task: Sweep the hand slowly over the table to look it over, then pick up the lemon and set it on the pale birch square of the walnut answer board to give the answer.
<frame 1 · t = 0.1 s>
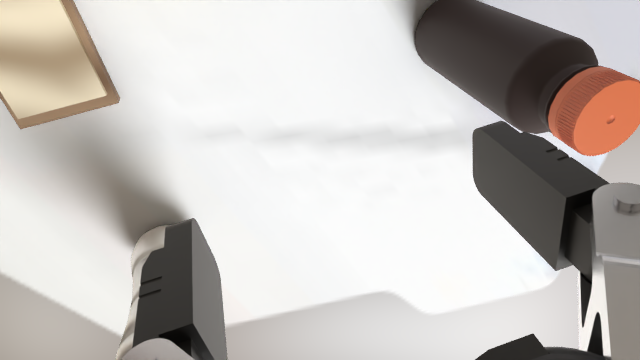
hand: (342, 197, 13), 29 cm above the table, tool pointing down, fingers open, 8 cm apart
plastic bottle: (167, 240, 47), on the table
vinegar: (445, 31, 42), on the table
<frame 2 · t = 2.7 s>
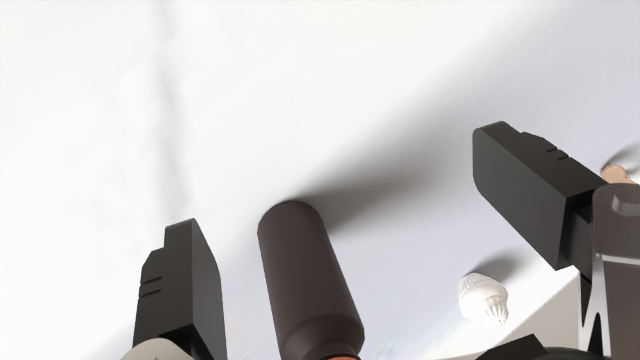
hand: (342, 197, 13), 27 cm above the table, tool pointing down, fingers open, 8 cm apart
muffin: (468, 280, 59), on the table
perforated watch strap: (606, 171, 54), on the table
vinegar: (288, 225, 47), on the table
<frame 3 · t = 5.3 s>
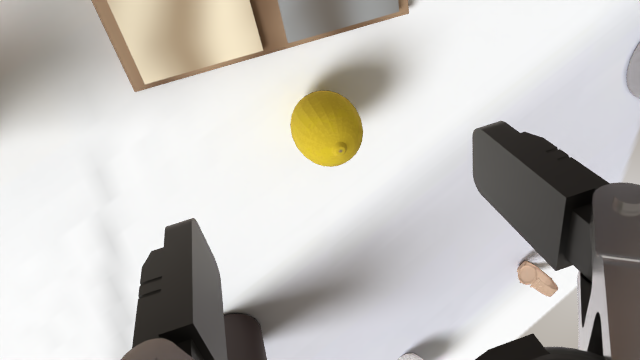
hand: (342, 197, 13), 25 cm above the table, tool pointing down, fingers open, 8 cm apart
lemon: (312, 107, 39), on the table
muffin: (405, 359, 64), on the table
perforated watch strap: (524, 264, 59), on the table
vinegar: (230, 331, 51), on the table
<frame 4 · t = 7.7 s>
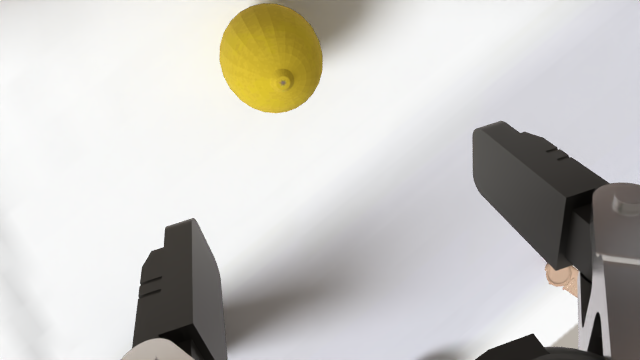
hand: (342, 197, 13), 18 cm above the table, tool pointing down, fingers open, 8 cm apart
lemon: (261, 38, 28), on the table
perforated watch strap: (553, 261, 47), on the table
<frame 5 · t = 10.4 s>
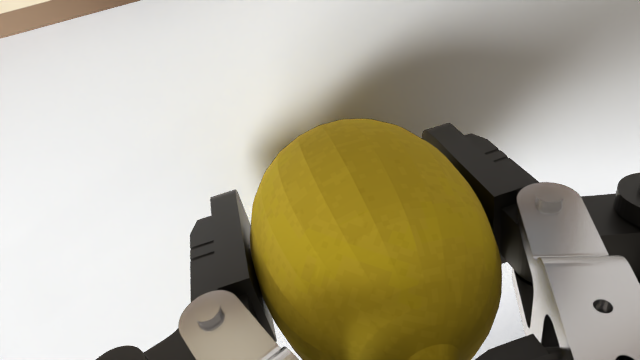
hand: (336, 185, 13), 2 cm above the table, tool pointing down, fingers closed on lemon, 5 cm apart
lemon: (322, 157, 14), on the table, touching gripper
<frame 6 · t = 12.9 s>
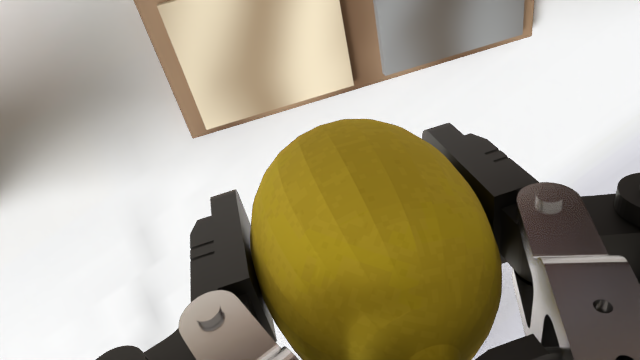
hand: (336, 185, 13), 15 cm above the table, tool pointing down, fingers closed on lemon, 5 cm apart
lemon: (322, 157, 14), point 14 cm above the table, touching gripper
answer board: (352, 15, 26), on the table
when the fingers open (4 cm above the table, at t = 15.4 s): lemon stays where it is, resting on answer board.
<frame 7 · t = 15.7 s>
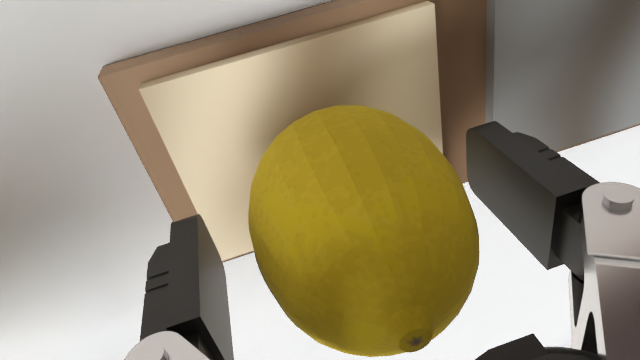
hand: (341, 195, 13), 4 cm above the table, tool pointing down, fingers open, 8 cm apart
lemon: (318, 144, 15), point 1 cm above the table, touching answer board
answer board: (446, 84, 17), on the table
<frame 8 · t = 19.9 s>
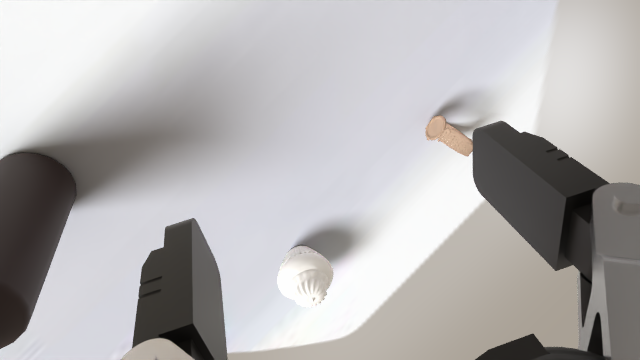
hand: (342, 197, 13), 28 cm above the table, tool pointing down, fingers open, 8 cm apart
muffin: (298, 255, 51), on the table
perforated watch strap: (438, 125, 47), on the table
vinegar: (34, 183, 39), on the table
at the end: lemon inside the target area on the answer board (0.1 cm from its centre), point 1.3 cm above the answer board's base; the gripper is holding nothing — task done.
